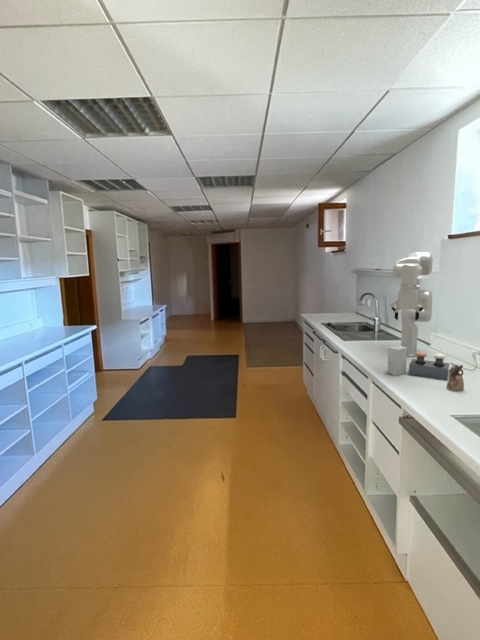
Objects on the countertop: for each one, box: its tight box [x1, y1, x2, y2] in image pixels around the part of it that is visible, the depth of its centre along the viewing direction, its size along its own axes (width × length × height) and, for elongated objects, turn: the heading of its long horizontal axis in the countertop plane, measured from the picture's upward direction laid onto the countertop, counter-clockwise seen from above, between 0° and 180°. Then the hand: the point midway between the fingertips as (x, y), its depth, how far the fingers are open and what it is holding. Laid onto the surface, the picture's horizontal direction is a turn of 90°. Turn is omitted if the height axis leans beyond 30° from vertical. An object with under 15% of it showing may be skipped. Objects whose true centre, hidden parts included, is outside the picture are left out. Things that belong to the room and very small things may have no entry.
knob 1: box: [415, 350, 427, 364], centre depth 196 cm, size 5×5×8 cm
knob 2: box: [433, 353, 446, 367], centre depth 191 cm, size 5×5×8 cm
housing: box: [408, 358, 450, 381], centre depth 194 cm, size 12×18×6 cm, turn 57°
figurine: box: [446, 363, 465, 392], centre depth 172 cm, size 7×7×12 cm
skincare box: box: [387, 345, 408, 377], centre depth 197 cm, size 8×6×15 cm
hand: (406, 319), depth 193 cm, fingers open, 9 cm apart
